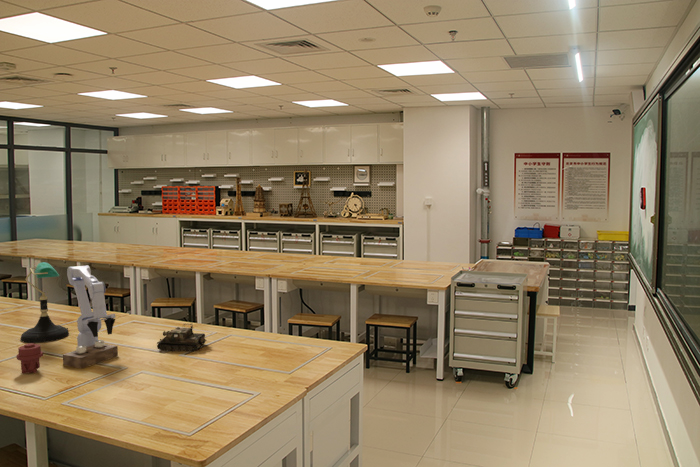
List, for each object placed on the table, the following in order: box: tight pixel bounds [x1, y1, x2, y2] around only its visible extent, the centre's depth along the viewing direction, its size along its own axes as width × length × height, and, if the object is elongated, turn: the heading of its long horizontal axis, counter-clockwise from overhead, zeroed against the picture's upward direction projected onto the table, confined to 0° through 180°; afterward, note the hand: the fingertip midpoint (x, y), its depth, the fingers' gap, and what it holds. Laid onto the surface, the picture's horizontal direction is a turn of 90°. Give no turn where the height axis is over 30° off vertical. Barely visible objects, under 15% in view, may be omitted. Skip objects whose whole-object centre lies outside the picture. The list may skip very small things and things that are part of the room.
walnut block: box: [62, 343, 119, 370], centre depth 245 cm, size 12×20×5 cm, turn 156°
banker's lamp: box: [20, 262, 70, 344], centre depth 283 cm, size 26×23×40 cm
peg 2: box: [95, 339, 105, 349], centre depth 249 cm, size 4×4×5 cm
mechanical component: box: [15, 343, 44, 375], centre depth 229 cm, size 12×10×10 cm
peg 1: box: [75, 345, 86, 355], centre depth 240 cm, size 4×4×5 cm
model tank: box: [156, 323, 207, 353], centre depth 265 cm, size 13×22×15 cm, turn 87°
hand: (102, 335), depth 249 cm, fingers open, 7 cm apart
